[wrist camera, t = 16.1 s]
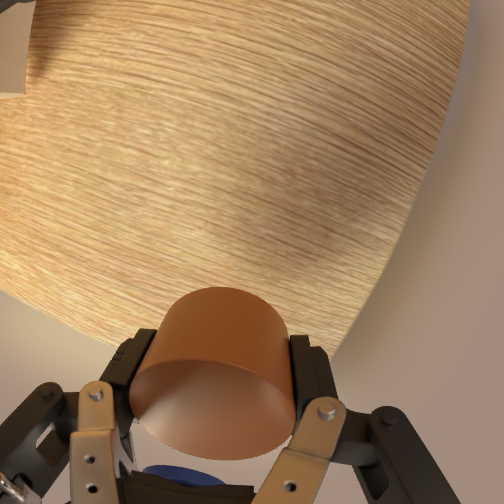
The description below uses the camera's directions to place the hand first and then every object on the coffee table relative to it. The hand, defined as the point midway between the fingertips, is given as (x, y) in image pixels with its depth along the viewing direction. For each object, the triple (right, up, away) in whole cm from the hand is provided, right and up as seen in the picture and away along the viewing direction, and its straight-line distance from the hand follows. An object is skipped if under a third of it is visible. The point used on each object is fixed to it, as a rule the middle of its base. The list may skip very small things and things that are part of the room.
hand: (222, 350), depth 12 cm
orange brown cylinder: (0, 0, +1) cm, 1 cm away
